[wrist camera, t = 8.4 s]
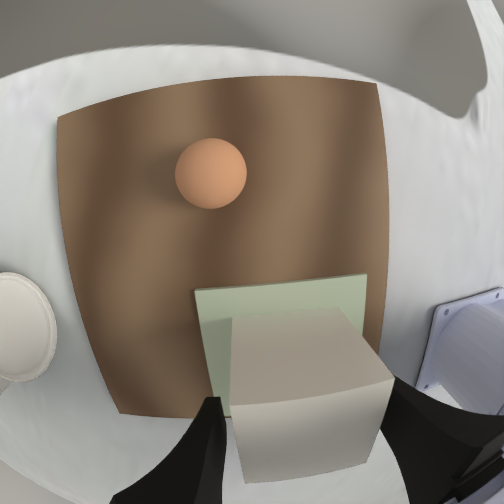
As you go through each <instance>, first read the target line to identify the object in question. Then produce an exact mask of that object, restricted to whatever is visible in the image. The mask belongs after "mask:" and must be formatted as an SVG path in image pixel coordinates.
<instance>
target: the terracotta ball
mask: <svg viewBox="0 0 504 504" xmlns="http://www.w3.org/2000/svg"><path fill="white" fill-rule="evenodd" d="M246 176H247V169H246V164H245V161H244V158H243V156H242V155H241V153H240V152H239V151H238V149H237V148H236V147H235V146H233V145H232V144H230V143H229V142H227V141H224V140H221V139H216V138H207V139H202V140H199V141H197V142H194V143H193V144H191V145H190V146H188V147H187V148H186V149H185V150H184V151H183V153H182V154H181V155H180V157H179V159H178V161H177V164H176V169H175V180H176V184H177V187H178V189H179V191H180V193H181V194H182V196H183V197H184V198H185V199H186V200H187V201H188V202H190V203H191V204H193V205H195V206H197V207H200V208H206V209H215V208H220V207H223V206H225V205H227V204H229V203H231V202H232V201H233V200H235V199H236V198H237V197H238V195H239V194H240V193H241V191H242V189H243V187H244V185H245V182H246Z"/></svg>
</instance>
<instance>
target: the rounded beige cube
mask: <svg viewBox="0 0 504 504" xmlns="http://www.w3.org/2000/svg"><path fill="white" fill-rule="evenodd" d="M394 380H395V377H394V376H393V375H392V373H391V372H390V371H389V370H388V368H387V367H386V366H385V364H384V363H383V362H382V361H381V359H380V358H379V357H378V355H377V354H376V353H375V352H374V350H373V349H372V348H371V347H370V345H369V344H368V343H367V342H366V340H365V339H364V338H363V337H362V335H361V334H360V333H359V332H358V330H357V329H356V328H355V327H354V325H353V324H352V323H351V322H350V320H349V319H348V318H347V317H346V315H345V314H344V313H343V312H342V311H341V309H340V308H339V307H338V306H335V307H327V308H319V309H311V310H303V311H294V312H284V313H274V314H264V315H252V316H240V317H232V337H231V366H230V400H229V407H230V412H231V417H232V423H233V428H234V433H235V438H236V443H237V448H238V453H239V458H240V463H241V467H242V472H243V476H244V481H245V483H261V482H272V481H281V480H288V479H295V478H302V477H308V476H313V475H318V474H323V473H328V472H333V471H337V470H341V469H345V468H349V467H353V466H356V465H360V464H363V463H366V462H367V459H368V457H369V454H370V452H371V450H372V447H373V445H374V442H375V439H376V437H377V434H378V431H379V429H380V426H381V423H382V420H383V417H384V414H385V411H386V408H387V405H388V401H389V398H390V395H391V391H392V388H393V384H394Z"/></svg>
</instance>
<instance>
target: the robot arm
mask: <svg viewBox="0 0 504 504" xmlns="http://www.w3.org/2000/svg"><path fill="white" fill-rule="evenodd" d="M445 310H446V311H445ZM392 375H393V374H392ZM393 376H394V375H393ZM394 377H395V380H394V384H393V388H392V391H391V395H390V398H389V401H388V405H387V408H386V411H385V414H384V417H383V420H382V423H381V426H380V430H381V431H382V433H383V435H384V437H385V439H386V440H387V442H388V444H389V446H390V447H391V449H392V451H393V453H394V455H395V457H396V460H397V462H398V465H399V468H400V470H401V473H402V476H403V480H404V483H405V486H406V490H407V494H408V498H409V503H410V504H504V288H503V287H500V288H497V289H494V290H491V291H488V292H485V293H482V294H479V295H475V296H472V297H469V298H465V299H462V300H458V301H455V302H451V303H448V304H444V305H440V306H438V307H437V308H436V310H435V313H434V318H433V323H432V327H431V332H430V337H429V341H428V345H427V349H426V353H425V357H424V361H423V364H422V368H421V371H420V375H419V378H418V381H417V384H416V387H415V388H413V387H412V386H410V385H409V384H407V383H405V382H404V381H402V380H401V379H399V378H397V377H396V376H394ZM440 384H441V385H442V386H443V388H444V389H445V390H446V391H447V392H448V393H449V394H450V395H451V396H452V397H453V399H454V400H455V401H456V402H457V403H458V404H459V405H460V406H461V407H462V409H463V410H462V409H458V408H455V407H452V406H450V405H447V404H444V403H442V402H440V401H437V400H435V399H433V398H431V397H429V396H427V395H426V394H424V393H422V392H423V391H425V390H428V389H430V388H433V387H435V386H438V385H440ZM226 445H227V432H226V421H225V417H224V412H223V407H222V402H221V397H220V396H218V397H206V398H205V399H204V401H203V403H202V405H201V407H200V409H199V411H198V413H197V415H196V417H195V418H194V420H193V422H192V423H191V425H190V427H189V428H188V430H187V431H186V433H185V434H184V435H183V437H182V438H181V440H180V441H179V442H178V444H177V445H176V446H175V447H174V448H173V450H172V451H171V452H170V453H169V454H168V455H167V456H166V457H165V458H164V459H163V460H162V461H161V462H160V463H159V464H158V465H157V466H156V467H155V468H154V469H153V470H152V471H150V472H149V473H148V474H146V475H145V476H144V477H142V478H141V479H140V480H138V481H137V482H136V483H134V484H133V485H131V486H129V487H128V488H126V489H124V490H122V491H121V492H119V493H117V494H115V495H113V497H112V500H111V501H110V503H109V504H222V481H223V472H224V463H225V454H226Z"/></svg>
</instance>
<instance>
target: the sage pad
mask: <svg viewBox="0 0 504 504" xmlns="http://www.w3.org/2000/svg"><path fill="white" fill-rule="evenodd" d="M366 286H367V274H366V273H358V274H350V275H341V276H332V277H323V278H314V279H304V280H295V281H284V282H274V283H263V284H252V285H240V286H227V287H214V288H201V289H195V298H196V304H197V310H198V316H199V322H200V328H201V334H202V340H203V345H204V351H205V356H206V361H207V366H208V371H209V376H210V381H211V386H212V390H213V395H214V397H218V396H220V397H221V402H222V407H223V412H224V416H231V412H230V407H229V400H230V366H231V337H232V317H240V316H252V315H264V314H274V313H284V312H294V311H303V310H311V309H319V308H327V307H335V306H338V307H339V308H340V309H341V311H342V312H343V313H344V314H345V315H346V317H347V318H348V319H349V320H350V322H351V323H352V324H353V325H354V327H355V328H356V329H357V330H358V332H359V333H360V334H361V335H362V333H363V323H364V313H365V301H366Z"/></svg>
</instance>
